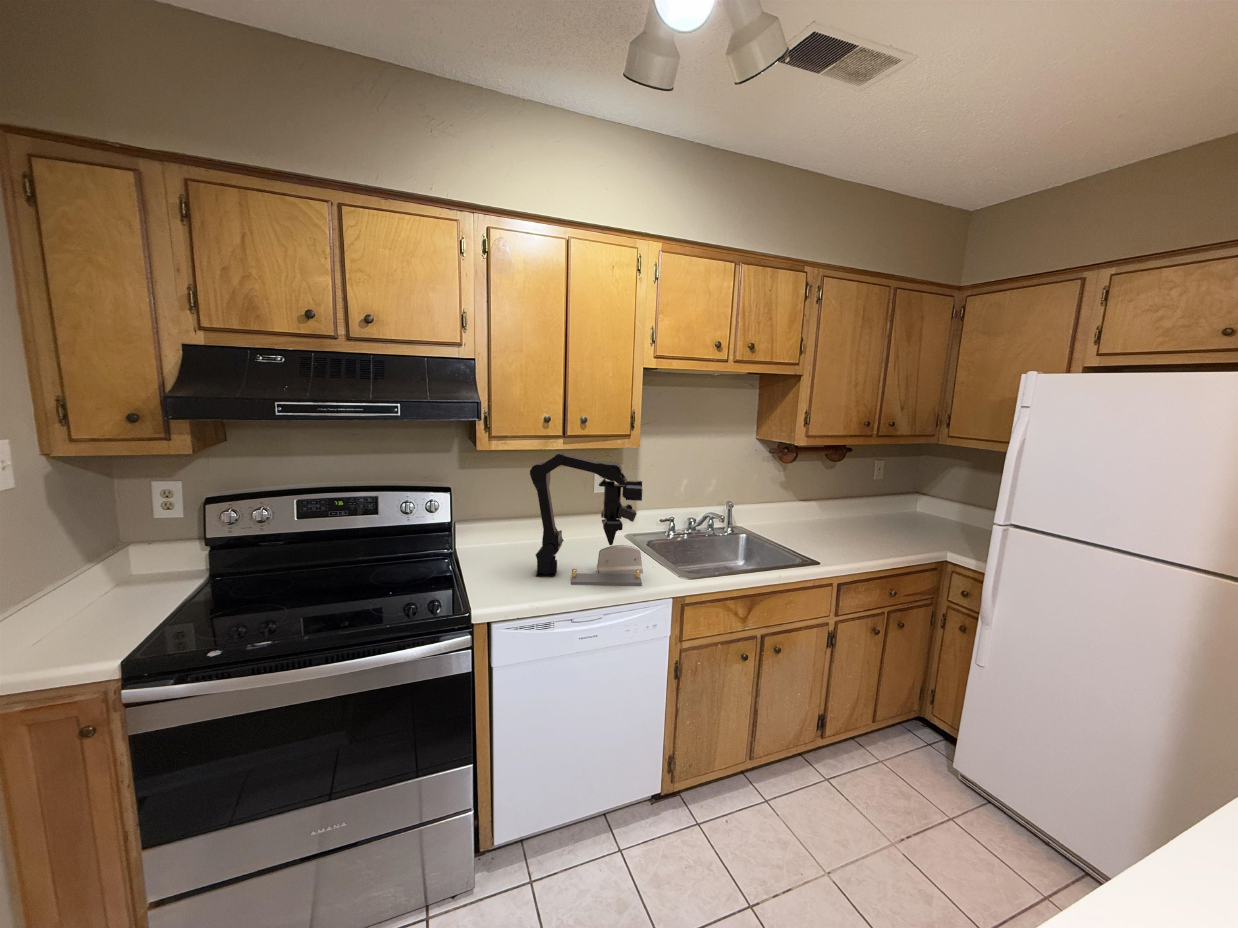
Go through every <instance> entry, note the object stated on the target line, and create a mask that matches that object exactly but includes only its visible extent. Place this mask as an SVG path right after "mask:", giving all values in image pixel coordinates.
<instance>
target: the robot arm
mask: <svg viewBox="0 0 1238 928" xmlns="http://www.w3.org/2000/svg"><path fill="white" fill-rule="evenodd" d="M560 466H564V467H566V468H567V467H568V468H572V469H576V470H580V471H584V472H588V473H589V472H590V473H593V474H596V476H599V477H600V478H603V479H602V481H600V482H599V484H598V487H604V488H603V489H604V493H603V500H602V501H603V502H602V503H603V508H602V510H601V513H600V518H602V519H601V523H602V528H603V531H604V534H605V537H606V539H607V543H608V545H609V546H614V545H613V544H614V541H615V537H616V534H617V532H618V531H622V530H623V525H624V524H623V522H622V520H621V519H622V518H623V519H626V520H628V521H630V522H632V523H633V522H634V521H635V519H636V517H637V511H636V510H635V509H633V506H632V504H630V503H627V504H626V505H622V502H621V499H622V498H623V499H625V501H633V502H634V501H636V502H637V501H638V502H642V501H643V481H642V480H628V478H627V477H626V476H625V474H624V472H623V468H622V465H621V464H620V463H619V462H617V461H608V460H607V461H598V460H593V459H588V458H584V457H581V456H576V455H571V454H568V453H565V452H561V451H560V452H558V453H556V454H555V455H554V456H553V457H551V458H549V460H547V461H545V462H543V461H541V462H538V463H536V464H534V465H533V466H531V468H530V470H529V475H530V479H531V482H532V484H533V486H534V488H535V489H536V492H537V493H536V494H537V499H538V504H539V505H538V506H539V512H540V517H541V523H542V528H543V530H542V531H543V532H542V538H541V539H542V540H541V546H540V548H539V550H537V552H536V554H535V557H536V574H535V576H536V577H540V578H541V577H547V578H548V577H549V578H551V577H555V576H556V574H557V573H558V559H556V557H557V556H556V555H557V553H558V552H559V551H560V549H561V547H562V545H563V543H564V539H563V530H562V529H561V530H560V529H559V530H558V528H557V527H556V521H555V516H554V507H553V503H552V497H551V490H550V482H551V472H552V471H554V470H555V469H557V468H559V467H560ZM621 496H622V498H621Z"/></svg>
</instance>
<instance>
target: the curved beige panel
mask: <svg viewBox="0 0 1238 928" xmlns="http://www.w3.org/2000/svg"><path fill="white" fill-rule="evenodd" d="M596 570H597V571H598V574H636V570H640V575H641V574H644V571H643V570H644V569H643V560H642V552H641V550H640V549H639V547H635V546H632V545H628V544H627V545H626V544H625V545H624V544H618V545H617V544H616V545H609V546H607V547H606V546H605V547H604V548H600V549H599V552H598V558H597V564H596Z"/></svg>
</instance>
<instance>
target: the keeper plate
mask: <svg viewBox="0 0 1238 928" xmlns="http://www.w3.org/2000/svg"><path fill="white" fill-rule="evenodd" d="M577 570H578V569H577V568H572V569H571V575H570V576H571V577H570V585H571V586H607V587H609V586H611V587H612V586H614V587H617V586H618V587H619V586H622V587H643V583H642V578H641V574H640V570H636V574H599V573H597V572H596V573H595V572H594V573H590V572H589V573H587V572H584V573H583V572H580V573H579V572H578V571H577Z"/></svg>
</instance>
